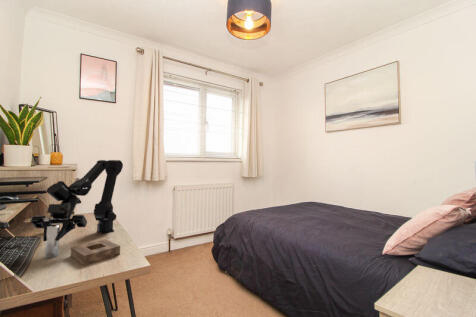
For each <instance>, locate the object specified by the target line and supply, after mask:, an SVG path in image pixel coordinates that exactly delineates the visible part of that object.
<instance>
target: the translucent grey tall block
mask: <svg viewBox="0 0 476 317" xmlns="http://www.w3.org/2000/svg"><path fill="white" fill-rule="evenodd" d="M60 225H61V224H52V225H49V226H47V235H46V241H45V259H54V258H57V257H58V256H59V254H60V253H59V250H60V240H59V241H56V238H57V236H58V234H59V232H60V230H61V228H60V227H61V226H60Z"/></svg>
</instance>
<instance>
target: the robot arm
mask: <svg viewBox="0 0 476 317" xmlns="http://www.w3.org/2000/svg"><path fill="white" fill-rule="evenodd" d="M123 168H124V164H123V161H122V160H119V159H108V160H106V159H99V160H97V161H96V163H95V164H94V165H93V167H91V169H89V170H88V171H87V173H86V174H84V176H82V178H81V177H80V178H79V179H76V180H75V181H74V182H72V183H71V184H69V186H68V185H67V183H65V181H63V180H58V182H55V183H53V184H52V185H50V186H48V188H47V189H46V193H47V194H48V195H49V196H51V197H52V198H53V199H54V200H55V201H56V202H60V203H56V204H55V203H50V204H48V208H47V210H46V213H49V214H50V217H47V216H46V215H34V216H32V217H31V219H30V221H29V222H30V223H31V224H32V225H33V227H34V228H36V229H43V238H42V240H43V242H46V235H47V226H49V225H62V226H61V228H60V232H59V234H58V236H57V238H56V241H59V242H60V240H61V239H62V238H63V237H65V236H66V235H67V234H68V233H69V232H71V231H72V230H75V229H76V227H77V228H86V226H87V224H88V220H87V218H86V216H85V215H84V214H75V211H74V210H75V208H76V207H77V205H80V204H82V201H81V199H80V197H83V196H87V195H88V194H89V192H90V191H91V190H92V187H93V183H94V182H95V181H96V180H97V179H98V178H99V177H100V175H101V174H102V173H103V172H104V171H105V173H106V177H105V182H104V186H103V189H102V190H103V191H102V195H101V199H100V201H99V202H98V203H95V205H94V209H93V216H94V218H95V221H97V222H98V223H97V226H96V227H97V228H96V233H99V234H101V235H102V234H107V233H111V232H115V230H114V222H115V220H116V219H117V214H116V213H115V212H114V206H113V203H112V199H113V196H114V195H113V194H114V191H115V186H116V182H117V177H118V176H119V175H120V174H121V172H122V170H123ZM79 196H80V197H79Z"/></svg>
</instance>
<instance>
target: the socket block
mask: <svg viewBox="0 0 476 317" xmlns="http://www.w3.org/2000/svg"><path fill="white" fill-rule="evenodd" d="M119 254H120V255H121V245H120V244H117V243H115V242H112V241H110V240H109V239H101V240H97V241H92V242H87V243H84V244H79V245H74V246H72V247H71V248H70V257H71V258H73V259H74V260H76V261H77V262H79V263H80V264H82V265H83V266H87V265H89V264H93V263H96V262H100V261H103V260H106V259H110V258H114V257H115V256H120V255H119Z"/></svg>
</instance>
